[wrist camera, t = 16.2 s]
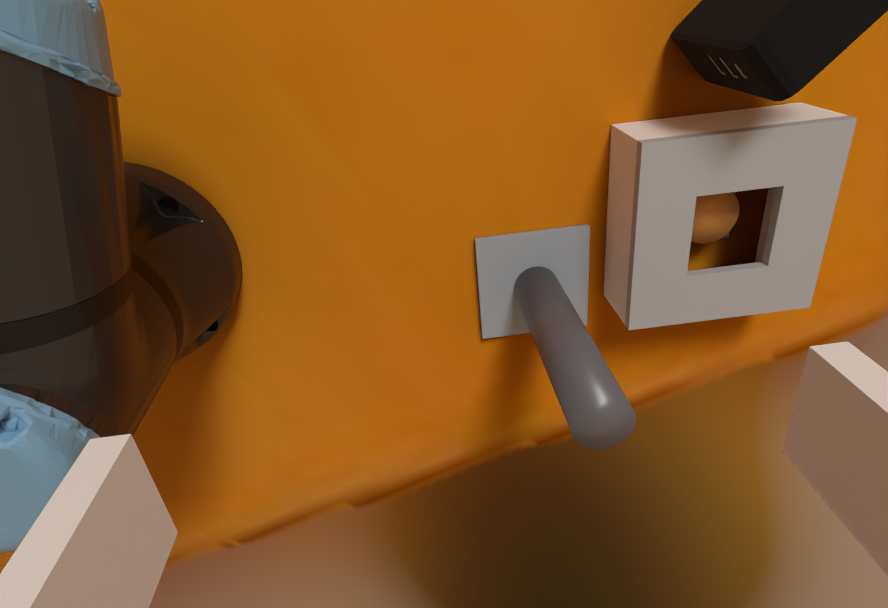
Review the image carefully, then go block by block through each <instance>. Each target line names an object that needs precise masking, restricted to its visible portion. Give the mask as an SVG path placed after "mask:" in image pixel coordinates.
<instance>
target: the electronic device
mask: <svg viewBox="0 0 888 608" xmlns="http://www.w3.org/2000/svg"><path fill="white" fill-rule="evenodd" d="M887 11H888V0H702V1H701V2H700V3H699V4H698V5H697V6H696V7H695V8H694V9H693V10H692V11H691V12H690V13H689V14H688V15H687V16H686V17H685V19H684V20H683V21H682V22H681V23H680V24H679V25H678V26H677V27H676V28H675V29H674V31H673V32H672V34H671V38H672V39H673V40H674V41H675V43H676V44H677V45H678V46H679V48H680V49H681V50H682V51H683V53H684V54H685V55H686V57H687V58H688V59H689V60H690V62H691V63H692V64H693V65H694V67H695V68H696V69H697V70H698V72H699V73H700V74H701V76H702V77H703V78H704V79H705V81H707V82H711V83H714V84H718V85H721V86H725V87H728V88H732V89H735V90H738V91H742V92H745V93H749V94H752V95H756V96H759V97H763V98H766V99H770V100H773V101H783V100H785V99H787V98H790V97H792V96H793V95H794V94H796V93H797V92H799V91H800V90H801V89H802V88H803V87H804V86H805V85H806V84H808V83H809V82H810V81H811V80H812V79H813V78H814V77H815V76H816V75H817V74H819V73H820V72H821V71H822V70H823V69H824V68H825V67H826V66H827V65H828V64H829V63H831V62H832V61H833V60H834V59H835V58H836V57H837V56H838V55H839V54H840V53H842V52H843V51H844V50H845V49H846V48H847V47H848V46H849V45H850V44H851V43H853V42H854V41H855V40H856V39H857V38H858V37H859V36H860V35H861V34H862V33H863V32H865V31H866V30H867V29H868V28H869V27H870V26H871V25H872V24H873V23H874V22H876V21H877V20H878V19H879V18H880V17H881V16H882V15H883V14H884V13H885V12H887Z"/></svg>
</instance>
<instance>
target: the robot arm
mask: <svg viewBox="0 0 888 608" xmlns="http://www.w3.org/2000/svg"><path fill="white" fill-rule="evenodd" d="M120 96H121V88H120V86H119V84H118V83H117V82H116V81H115V80H114V75H113V69H112V62H111V56H110V49H109V43H108V36H107V30H106V23H105V17H104V12H103V9H102V6H101V3H100V1H99V0H0V553H6V552H12V551H15V553H14V554H13V556H12V557H11V559H10V560H9V562H8V563H7V565H6V566H5V568H4V569H3V571H2V572H1V574H0V608H149V606H150V603H151V600H152V598H153V595H154V593H155V590H156V587H157V585H158V582H159V580H160V577H161V574H162V572H163V570H164V567H165V564H166V562H167V559H168V557H169V554H170V552H171V549H172V546H173V544H174V541H175V539H176V536H177V534H178V531H177V529H176V527H175V525H174V523H173V521H172V519H171V517H170V515H169V513H168V510H167V508H166V506H165V504H164V502H163V500H162V498H161V496H160V494H159V492H158V489H157V487H156V485H155V483H154V481H153V479H152V477H151V475H150V473H149V471H148V468H147V466H146V464H145V462H144V460H143V458H142V456H141V454H140V452H139V449H138V447H137V445H136V443H135V441H134V439H133V437H132V436H133V435H134V433H135V431H136V429H137V427H138V426H139V424H140V422H141V420H142V419H143V417H144V415H145V413H146V411H147V410H148V408H149V406H150V404H151V403H152V401H153V399H154V397H155V395H156V394H157V392H158V390H159V388H160V386H161V385H162V383H163V381H164V379H165V378H166V376H167V374H168V372H169V370H170V368H171V367H172V365H173V363H175V362H176V361H178V360H179V359H181V358H183V357H184V356H186V355H187V354H189V353H191V352H192V351H194V350H195V349H197V348H198V347H200V346H201V345H203V344H204V343H206V342H207V341H208V340H210V339H211V338H212V337H213V336H214V335H215V334H216V333H217V332H218V331H219V329H220V328H221V327H222V326H223V324H224V323H225V321H226V320H227V318H228V316H229V314H230V312H231V310H232V308H233V306H234V304H235V302H236V300H237V297H238V294H239V291H240V286H241V279H242V267H241V259H240V254H239V250H238V247H237V244H236V241H235V239H234V237H233V235H232V233H231V231H230V229H229V227H228V225H227V224H226V222H225V221H224V219H223V218H222V217H221V215H220V214H219V213H218V211H217V210H216V209H215V208H214V207H213V206H212V205H211V204H210V203H209V202H208V201H207V200H206V199H205V198H204V197H203V196H202V195H200V194H199V193H198V192H197V191H195V190H194V189H193V188H191V187H190V186H188V185H187V184H185V183H184V182H182V181H180V180H178V179H177V178H175V177H173V176H171V175H169V174H166V173H164V172H162V171H159V170H156V169H153V168H150V167H147V166H143V165H138V164H133V163H126V162H123V154H122V143H121V133H120V122H119V112H118V101H117V97H120ZM782 452H783V453H784V454H785V455H786V456H787V458H788V459H789V460H790V461H791V462H792V464H793V465H794V466H795V467H796V468H797V470H798V471H799V472H800V473H801V474H802V475H803V477H805V479H806V480H807V481H808V482H809V484H810V485H811V486H812V487H813V488H814V490H815V491H816V492H817V493H818V494H819V495H820V496H821V498H822V499H823V500H824V501H825V502H826V504H827V505H828V506H829V507H830V508H831V510H832V511H833V512H834V513H835V514H836V515H837V517H838V518H839V519H840V520H841V521H842V522H843V524H844V525H845V526H846V527H847V528H848V530H849V531H850V532H851V533H852V534H853V535H854V537H855V538H856V539H857V540H858V541H859V543H860V544H861V545H862V546H863V547H864V548H865V550H866V551H867V552H868V553H869V554H870V555H871V557H872V558H873V559H874V560H875V561H876V563H877V564H878V565H879V566H880V567H881V568H882V569H883V571H884V572H885V573H886V574H887V575H888V372H887V371H886V370H884V369H883V368H882V367H880V366H879V365H878V364H876V363H875V362H874V361H872V360H871V359H870V358H869V357H867V356H866V355H865V354H863V353H862V352H861V351H859V350H858V349H857V348H856V347H854V346H853V345H852V344H850V343H849V342H841V343H833V344H826V345H818V346H810V347H809V351H808V355H807V359H806V363H805V367H804V370H803V374H802V378H801V382H800V386H799V390H798V394H797V398H796V401H795V405H794V409H793V413H792V417H791V421H790V424H789V429H788V432H787V436H786V440H785V444H784V448H783V451H782Z"/></svg>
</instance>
